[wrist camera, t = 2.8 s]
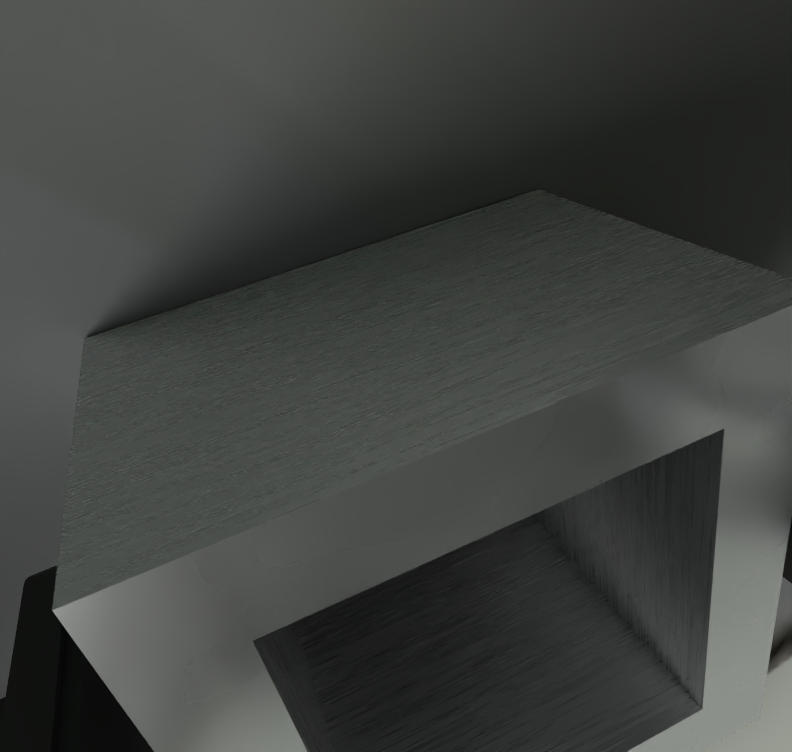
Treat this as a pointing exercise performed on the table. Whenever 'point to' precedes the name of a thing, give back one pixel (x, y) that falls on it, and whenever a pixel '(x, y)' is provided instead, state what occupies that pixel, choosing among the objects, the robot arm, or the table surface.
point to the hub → (441, 496)
